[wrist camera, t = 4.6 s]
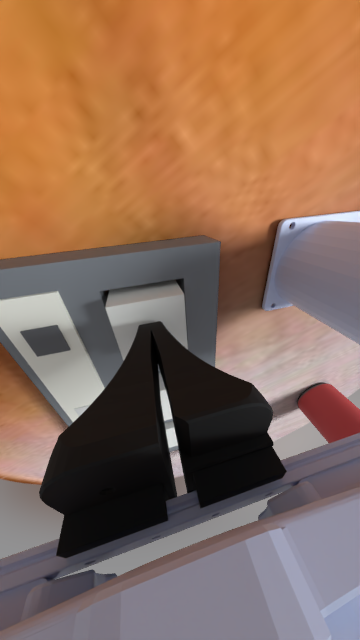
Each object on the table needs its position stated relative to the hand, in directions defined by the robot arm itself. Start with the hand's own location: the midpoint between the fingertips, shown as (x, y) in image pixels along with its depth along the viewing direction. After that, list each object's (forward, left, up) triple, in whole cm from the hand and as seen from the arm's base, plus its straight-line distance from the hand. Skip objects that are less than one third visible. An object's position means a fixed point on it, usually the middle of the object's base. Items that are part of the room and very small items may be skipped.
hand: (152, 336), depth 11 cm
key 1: (0, 0, -3) cm, 3 cm away
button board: (+2, +8, -5) cm, 10 cm away
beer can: (-25, +23, -5) cm, 34 cm away
